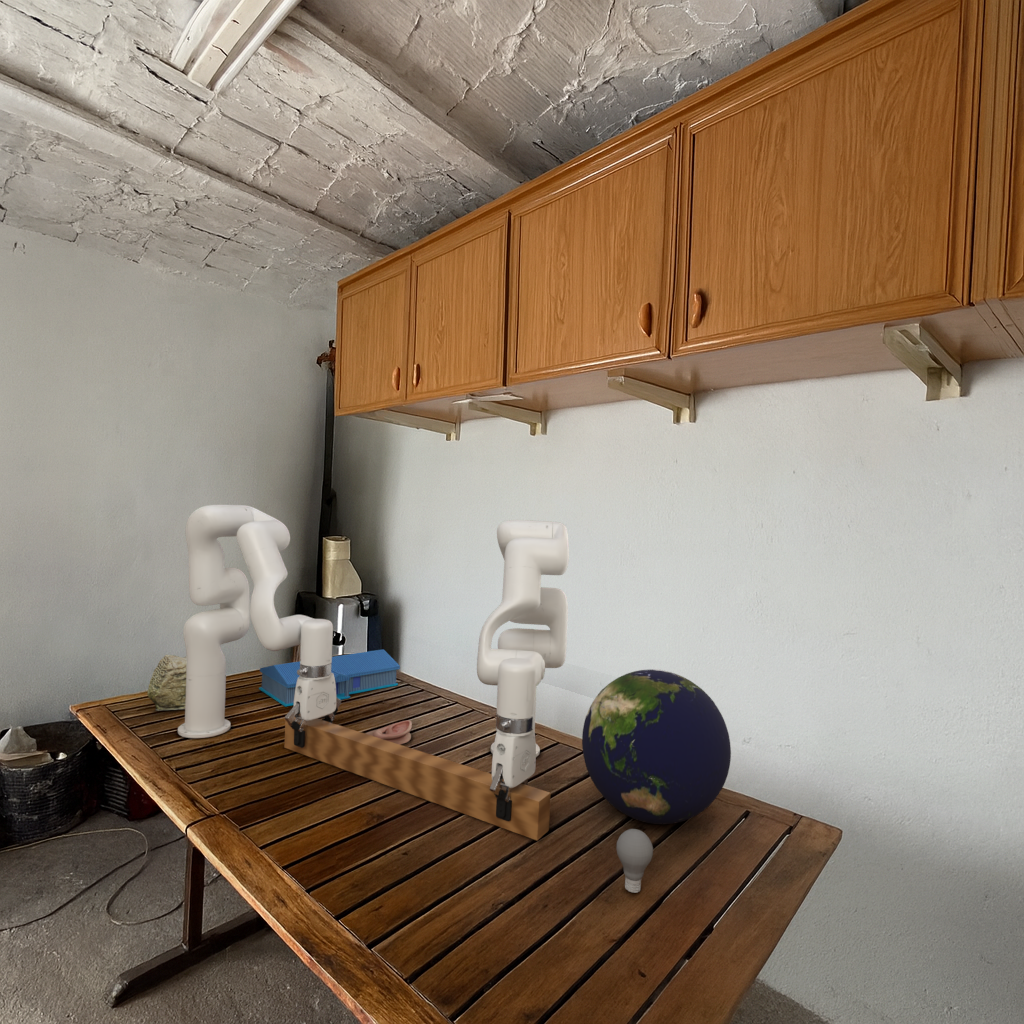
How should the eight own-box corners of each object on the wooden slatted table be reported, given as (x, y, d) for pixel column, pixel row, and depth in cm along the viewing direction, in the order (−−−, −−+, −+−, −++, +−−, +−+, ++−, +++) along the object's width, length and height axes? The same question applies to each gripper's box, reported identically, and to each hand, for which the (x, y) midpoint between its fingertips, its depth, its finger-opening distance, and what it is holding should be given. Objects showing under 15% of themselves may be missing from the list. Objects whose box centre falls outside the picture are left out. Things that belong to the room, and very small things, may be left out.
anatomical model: (352, 728, 162) (370, 714, 173) (351, 744, 162) (370, 728, 173) (400, 734, 159) (416, 719, 171) (400, 750, 159) (416, 734, 171)
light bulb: (610, 879, 108) (613, 822, 108) (644, 879, 109) (647, 822, 109) (619, 902, 102) (622, 840, 102) (655, 901, 103) (658, 840, 103)
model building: (289, 709, 186) (291, 675, 185) (258, 688, 204) (259, 657, 204) (403, 687, 212) (405, 657, 212) (366, 670, 230) (368, 643, 230)
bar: (284, 747, 158) (285, 717, 158) (299, 742, 162) (300, 713, 162) (537, 840, 120) (539, 801, 120) (549, 830, 124) (550, 792, 124)
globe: (560, 832, 123) (567, 679, 123) (598, 773, 151) (604, 648, 150) (721, 872, 112) (730, 704, 111) (731, 800, 140) (737, 665, 139)
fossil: (144, 707, 182) (145, 655, 182) (212, 696, 194) (213, 647, 194) (151, 716, 175) (153, 662, 175) (221, 703, 188) (223, 653, 188)
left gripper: (297, 680, 147) (294, 755, 147) (352, 665, 161) (350, 734, 162) (275, 674, 151) (273, 748, 151) (332, 660, 165) (329, 727, 166)
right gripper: (508, 739, 117) (503, 837, 117) (551, 715, 131) (547, 802, 131) (474, 730, 120) (470, 825, 121) (520, 707, 135) (516, 792, 135)
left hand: (313, 740), depth 156 cm, fingers open, 7 cm apart
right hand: (510, 812), depth 126 cm, fingers closed on bar, 4 cm apart
